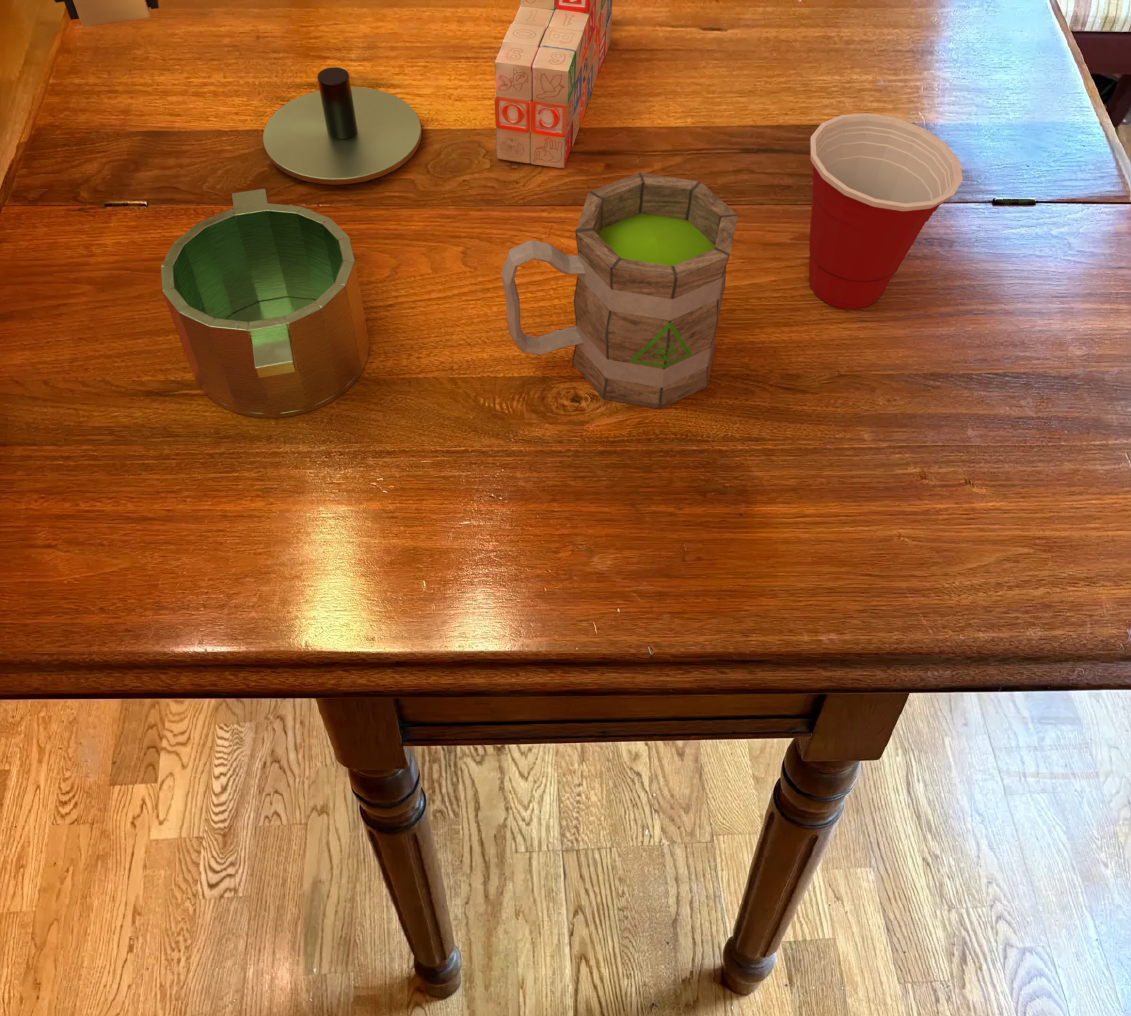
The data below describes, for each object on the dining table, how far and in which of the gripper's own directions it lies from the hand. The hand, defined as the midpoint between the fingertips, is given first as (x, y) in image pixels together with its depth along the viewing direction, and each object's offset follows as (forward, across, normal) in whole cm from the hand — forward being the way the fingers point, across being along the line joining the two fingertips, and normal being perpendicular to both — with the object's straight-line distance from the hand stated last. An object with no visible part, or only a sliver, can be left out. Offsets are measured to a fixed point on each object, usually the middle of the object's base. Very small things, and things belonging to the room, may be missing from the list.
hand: (113, 1), depth 75 cm
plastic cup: (+18, -49, +23) cm, 57 cm away
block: (0, 0, 0) cm, 0 cm away
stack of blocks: (+18, -34, -8) cm, 39 cm away
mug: (+18, -29, +26) cm, 43 cm away
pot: (+18, -6, +19) cm, 26 cm away
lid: (+17, -14, -6) cm, 23 cm away
